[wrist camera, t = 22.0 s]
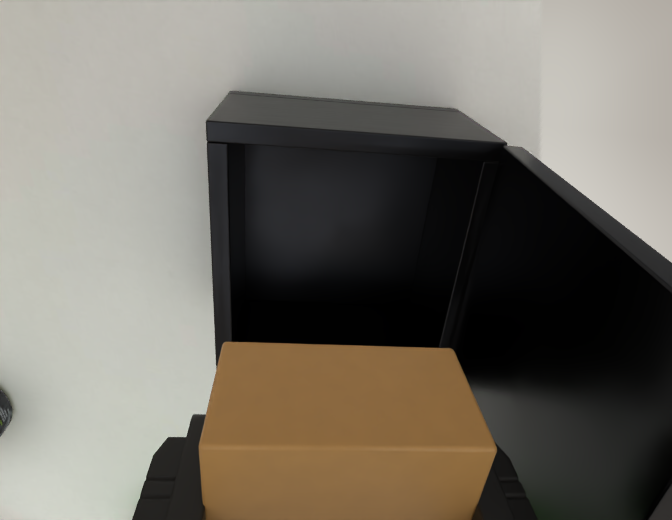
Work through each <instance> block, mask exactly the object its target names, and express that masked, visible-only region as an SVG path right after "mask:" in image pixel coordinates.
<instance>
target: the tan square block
mask: <svg viewBox="0 0 672 520" xmlns="http://www.w3.org/2000/svg"><path fill="white" fill-rule="evenodd" d="M496 452H497V447H496V444H495V442H494V440H493V438H492V435H491V433H490V431H489V429H488V426H487V424H486V422H485V420H484V417H483V415H482V413H481V411H480V408H479V406H478V404H477V402H476V399H475V397H474V395H473V393H472V390H471V388H470V386H469V384H468V381H467V379H466V377H465V374H464V372H463V370H462V368H461V365H460V363H459V361H458V359H457V356H456V354H455V352H454V350H453V349H451V348H424V347H391V346H357V345H324V344H290V343H257V342H224V343H223V345H222V348H221V353H220V357H219V361H218V366H217V370H216V374H215V378H214V383H213V387H212V391H211V395H210V400H209V404H208V408H207V413H206V417H205V421H204V425H203V430H202V434H201V438H200V442H199V459H200V474H201V488H202V502H203V505H204V506H205V515H206V520H472V518H473V515H474V512H475V510H476V507H477V504H478V502H479V499H480V497H481V494H482V491H483V488H484V485H485V483H486V480H487V477H488V474H489V472H490V469H491V466H492V463H493V461H494V458H495V455H496Z"/></svg>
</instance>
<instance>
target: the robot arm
mask: <svg viewBox="0 0 672 520" xmlns="http://www.w3.org/2000/svg"><path fill="white" fill-rule="evenodd" d="M205 417H206V415H202V414H194V415H193V416H192V419H191V422H190V426H189V429H188V433H187V437H168V438H167V439H166V441H165V442H164V443H163V444H162V445H161V447H160V448H159V449H158V450H157V452H156V453H155V454H154V455H153V458H152V461H151V464H150V467H149V470H148V473H147V476H146V481H145V482H144V485H143V488H142V492H141V496H140V499H139V501H138V504H137V507H136V510H135V513H134V516H133V519H132V520H206V515H205V506H204V505H203V502H202V488H201V474H200V459H199V442H200V438H201V434H202V430H203V425H204V421H205ZM495 444H496V443H495ZM496 447H497V452H496V455H495V458H494V461H493V463H492V466H491V469H490V472H489V474H488V477H487V480H486V483H485V485H484V488H483V491H482V494H481V497H480V499H479V502H478V504H477V507H476V510H475V512H474V515H473V518H472V520H538V518H537V516H536V514H535V512H534V510H533V507H532V505H531V503H530V501H529V499H528V498H527V497H526V492H525V490H524V488H523V486H522V484H521V482H519V477H518V475H517V473H516V471H515V469H514V466H513V464H512V462H511V460H510V458H509V457H508V456H507V455H506V454H505V452H504V451H503V450H502V449H501V448H500V447H499V446H498V445H497V444H496Z"/></svg>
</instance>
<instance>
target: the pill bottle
mask: <svg viewBox="0 0 672 520" xmlns="http://www.w3.org/2000/svg"><path fill="white" fill-rule="evenodd" d="M11 418H12V407H11V404H10V401H9V400H8V398H7V397H6V395H5V394H4V393H3V392H2V391H1V390H0V436H1V435H2V433H3V432H4V431H5V429H6V428H7V426H8V425H9V423H10V421H11Z"/></svg>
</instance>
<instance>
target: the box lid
mask: <svg viewBox="0 0 672 520" xmlns="http://www.w3.org/2000/svg"><path fill="white" fill-rule="evenodd" d="M451 349H453V350H454V352H455V354H456V356H457V359H458V361H459V363H460V365H461V368H462V370H463V372H464V374H465V377H466V379H467V381H468V384H469V386H470V388H471V390H472V393H473V395H474V397H475V399H476V402H477V404H478V406H479V408H480V411H481V413H482V415H483V417H484V420H485V422H486V424H487V426H488V429H489V431H490V433H491V435H492V438H493V440H494V442H495V443H496V444H497V445H498V446H499V447H500V448H501V449H502V450H503V451H504V452H505V454H506V455H507V456H508V457H509V458H510V460H511V462H512V464H513V466H514V469H515V471H516V473H517V475H518V477H519V482H521V484H522V486H523V488H524V490H525V492H526V497H527V498H528V499H529V501H530V503H531V505H532V507H533V510H534V512H535V514H536V516H537V518H538V520H672V263H671V262H670V261H669V260H667V259H666V258H665V257H663V256H662V255H661V254H659V253H658V252H657V251H656V250H654V249H653V248H652V247H651V246H649V245H648V244H646V243H645V242H644V241H643V240H642V239H640V238H639V237H638V236H636V235H635V234H634V233H632V232H631V231H630V230H629V229H627V228H626V227H625V226H623V225H622V224H621V223H620V222H618V221H617V220H616V219H614V218H613V217H612V216H610V215H609V214H608V213H607V212H605V211H604V210H603V209H601V208H600V207H599V206H597V205H596V204H595V203H594V202H592V201H591V200H590V199H589V198H587V197H586V196H585V195H583V194H582V193H581V192H579V191H578V190H577V189H576V188H574V187H573V186H571V185H570V184H569V183H568V182H567V181H565V180H564V179H563V178H561V177H560V176H559V175H557V174H556V173H555V172H554V171H552V170H551V169H550V168H548V167H547V166H546V165H544V164H543V163H542V162H541V161H539V160H538V159H537V158H535V157H534V156H533V155H532V154H530V153H529V152H528V151H526V150H525V149H524V148H522V147H514V146H503V148H502V152H501V156H500V160H499V164H498V167H497V171H496V175H495V179H494V183H493V187H492V191H491V195H490V198H489V202H488V206H487V210H486V214H485V218H484V222H483V226H482V229H481V233H480V237H479V241H478V245H477V249H476V253H475V257H474V260H473V264H472V268H471V272H470V276H469V280H468V284H467V288H466V291H465V295H464V299H463V303H462V307H461V311H460V315H459V319H458V322H457V326H456V330H455V334H454V338H453V342H452V346H451Z"/></svg>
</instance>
